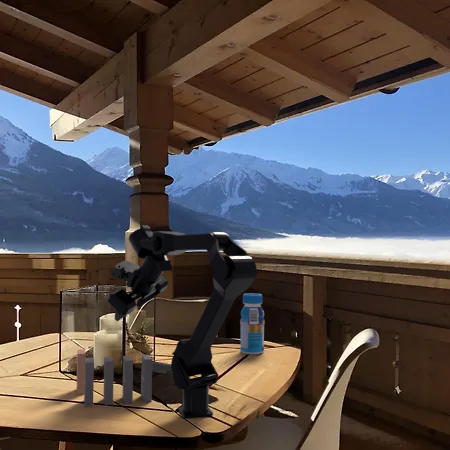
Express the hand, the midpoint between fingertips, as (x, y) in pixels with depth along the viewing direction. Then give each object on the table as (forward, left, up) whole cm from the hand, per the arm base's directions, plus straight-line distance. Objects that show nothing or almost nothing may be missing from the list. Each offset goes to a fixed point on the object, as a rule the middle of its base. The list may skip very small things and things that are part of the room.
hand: (127, 312), depth 137 cm
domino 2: (-13, +10, -19) cm, 25 cm away
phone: (+16, -10, -20) cm, 27 cm away
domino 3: (-13, +6, -19) cm, 24 cm away
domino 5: (-13, -3, -19) cm, 23 cm away
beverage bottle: (+29, -46, -19) cm, 58 cm away
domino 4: (-13, +1, -19) cm, 23 cm away
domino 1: (-3, +12, -19) cm, 23 cm away
